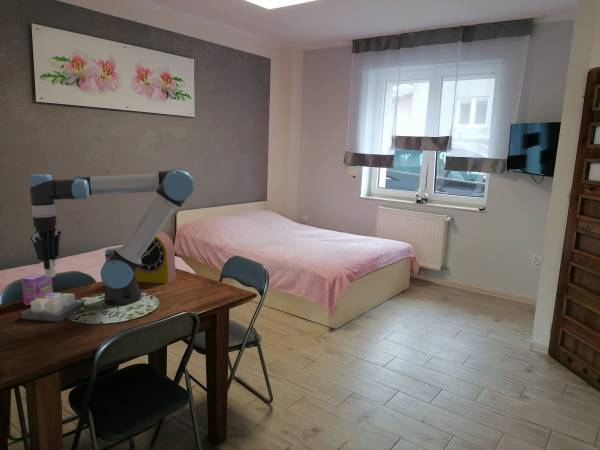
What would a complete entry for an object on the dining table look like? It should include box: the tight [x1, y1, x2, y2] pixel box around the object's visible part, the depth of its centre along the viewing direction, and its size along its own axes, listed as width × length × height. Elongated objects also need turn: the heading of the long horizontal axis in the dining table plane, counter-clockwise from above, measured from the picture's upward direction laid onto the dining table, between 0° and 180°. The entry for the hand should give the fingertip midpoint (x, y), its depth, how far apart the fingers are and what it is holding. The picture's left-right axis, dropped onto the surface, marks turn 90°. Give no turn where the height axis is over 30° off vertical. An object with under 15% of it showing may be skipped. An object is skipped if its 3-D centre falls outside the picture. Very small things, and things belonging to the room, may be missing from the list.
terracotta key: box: [44, 299, 63, 313], centre depth 167 cm, size 4×4×4 cm
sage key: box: [57, 292, 76, 307], centre depth 174 cm, size 4×4×4 cm
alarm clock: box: [136, 230, 177, 284], centre depth 214 cm, size 21×9×26 cm, turn 80°
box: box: [20, 271, 54, 306], centre depth 184 cm, size 10×6×12 cm, turn 168°
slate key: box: [44, 291, 63, 300], centre depth 175 cm, size 4×4×4 cm
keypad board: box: [21, 300, 86, 323], centre depth 172 cm, size 16×15×2 cm
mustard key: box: [30, 298, 49, 312], centre depth 168 cm, size 4×4×4 cm
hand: (50, 276), depth 165 cm, fingers closed
